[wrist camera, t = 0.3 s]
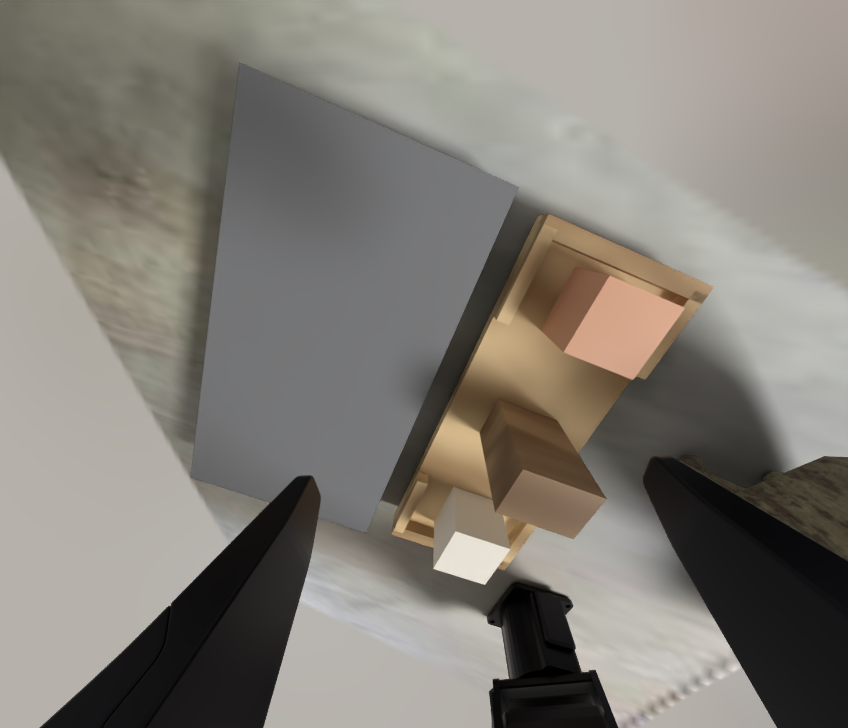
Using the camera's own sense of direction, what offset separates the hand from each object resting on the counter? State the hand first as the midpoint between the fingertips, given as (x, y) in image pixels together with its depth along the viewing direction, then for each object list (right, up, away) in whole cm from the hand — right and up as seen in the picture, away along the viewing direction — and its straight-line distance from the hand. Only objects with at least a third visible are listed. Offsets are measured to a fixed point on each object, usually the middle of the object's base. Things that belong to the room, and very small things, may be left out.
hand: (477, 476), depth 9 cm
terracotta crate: (+8, +6, +10) cm, 15 cm away
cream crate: (+2, -9, +17) cm, 19 cm away
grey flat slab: (-8, +4, +14) cm, 17 cm away
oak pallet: (+5, -1, +16) cm, 17 cm away
